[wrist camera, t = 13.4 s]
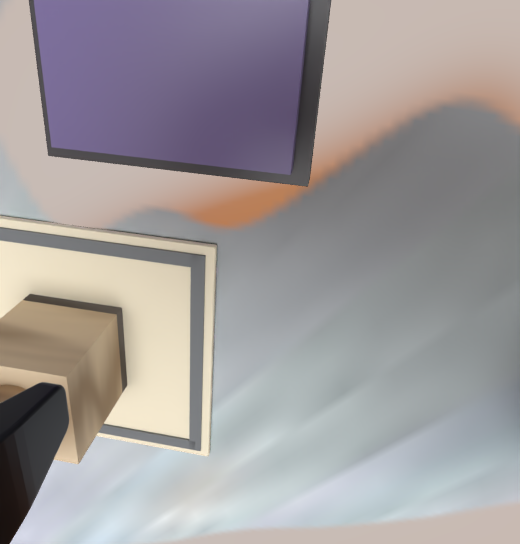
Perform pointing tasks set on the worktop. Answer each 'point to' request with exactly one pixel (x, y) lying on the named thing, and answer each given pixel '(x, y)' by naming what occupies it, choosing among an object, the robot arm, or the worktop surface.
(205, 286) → the cream square plate
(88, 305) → the stamp
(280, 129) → the ink pad
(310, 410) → the worktop surface
